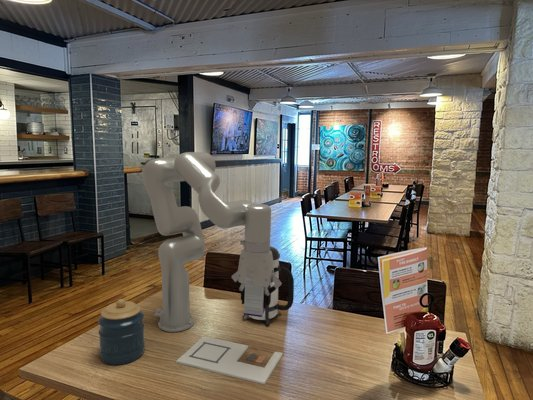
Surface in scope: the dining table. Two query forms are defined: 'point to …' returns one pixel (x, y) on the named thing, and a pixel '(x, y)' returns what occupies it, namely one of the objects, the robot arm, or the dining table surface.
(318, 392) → the dining table surface
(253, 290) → the supplement box
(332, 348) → the dining table surface
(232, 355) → the board
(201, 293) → the dining table surface
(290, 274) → the coffee press
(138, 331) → the canister
